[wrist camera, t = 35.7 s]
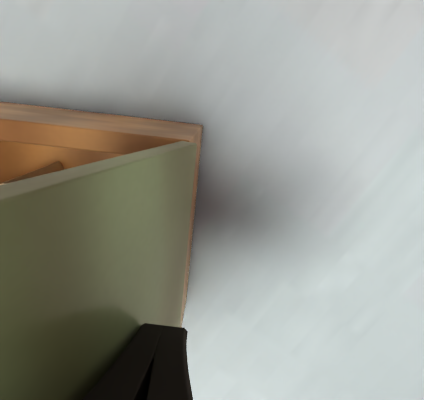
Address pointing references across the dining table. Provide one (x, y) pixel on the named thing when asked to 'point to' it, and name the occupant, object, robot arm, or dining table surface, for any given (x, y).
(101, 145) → the open wooden box
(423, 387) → the dining table surface
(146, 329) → the robot arm
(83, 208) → the lid
